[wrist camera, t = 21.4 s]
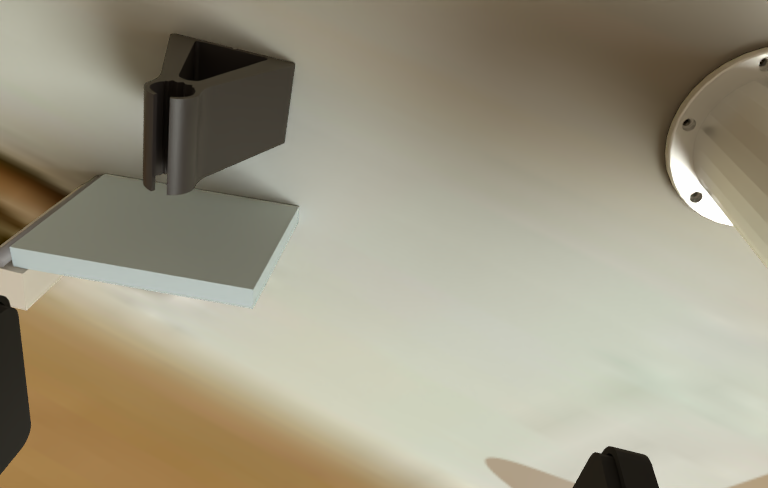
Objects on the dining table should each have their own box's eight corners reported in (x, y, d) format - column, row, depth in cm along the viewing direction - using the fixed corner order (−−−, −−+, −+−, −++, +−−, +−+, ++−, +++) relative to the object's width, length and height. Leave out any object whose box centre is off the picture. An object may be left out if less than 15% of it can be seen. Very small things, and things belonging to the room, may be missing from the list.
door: (95, 188, 51) (-8, 268, 40) (92, 171, 50) (-12, 248, 39) (298, 222, 50) (249, 314, 39) (298, 206, 49) (250, 295, 38)
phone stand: (296, 63, 44) (243, 116, 33) (285, 141, 47) (232, 212, 36) (173, 32, 44) (81, 75, 33) (169, 112, 47) (84, 174, 36)
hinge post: (117, 192, 51) (22, 274, 40) (118, 224, 52) (26, 310, 41) (82, 184, 51) (-23, 262, 40) (83, 215, 52) (-17, 299, 41)
